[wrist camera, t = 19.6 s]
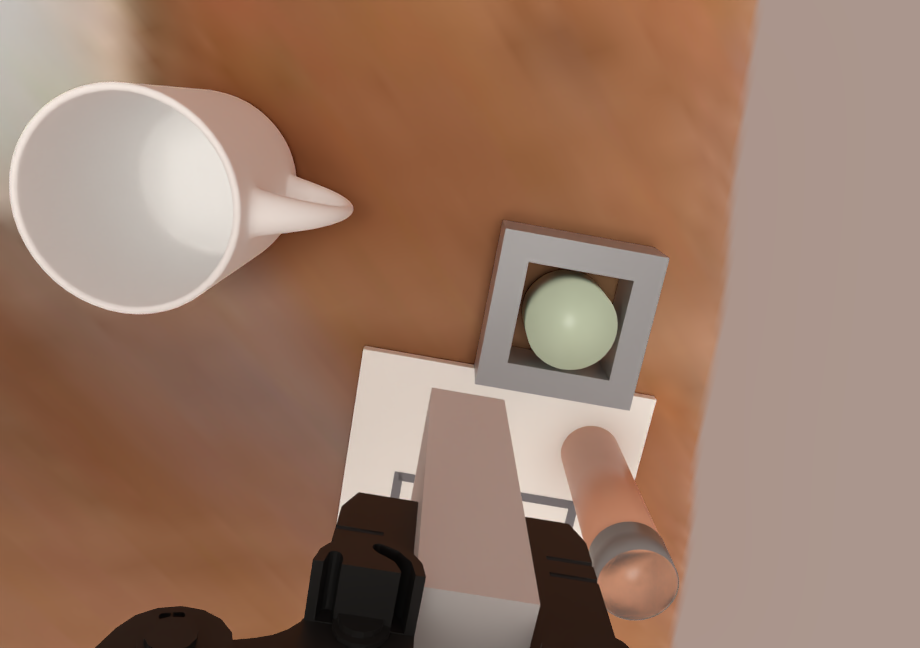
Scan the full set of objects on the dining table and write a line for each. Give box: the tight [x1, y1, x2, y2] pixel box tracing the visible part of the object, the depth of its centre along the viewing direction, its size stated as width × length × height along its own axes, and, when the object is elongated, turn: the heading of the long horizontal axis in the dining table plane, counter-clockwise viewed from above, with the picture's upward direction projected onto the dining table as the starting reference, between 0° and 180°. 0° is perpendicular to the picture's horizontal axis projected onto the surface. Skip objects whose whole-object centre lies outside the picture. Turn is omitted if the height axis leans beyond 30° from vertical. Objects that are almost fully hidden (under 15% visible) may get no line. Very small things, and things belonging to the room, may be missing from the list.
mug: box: [9, 81, 353, 314], centre depth 33 cm, size 9×12×11 cm
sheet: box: [337, 346, 656, 539], centre depth 42 cm, size 16×13×1 cm
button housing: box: [474, 220, 669, 411], centre depth 38 cm, size 8×8×3 cm
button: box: [522, 270, 618, 370], centre depth 38 cm, size 4×4×3 cm
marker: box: [561, 426, 679, 620], centre depth 36 cm, size 3×3×12 cm
